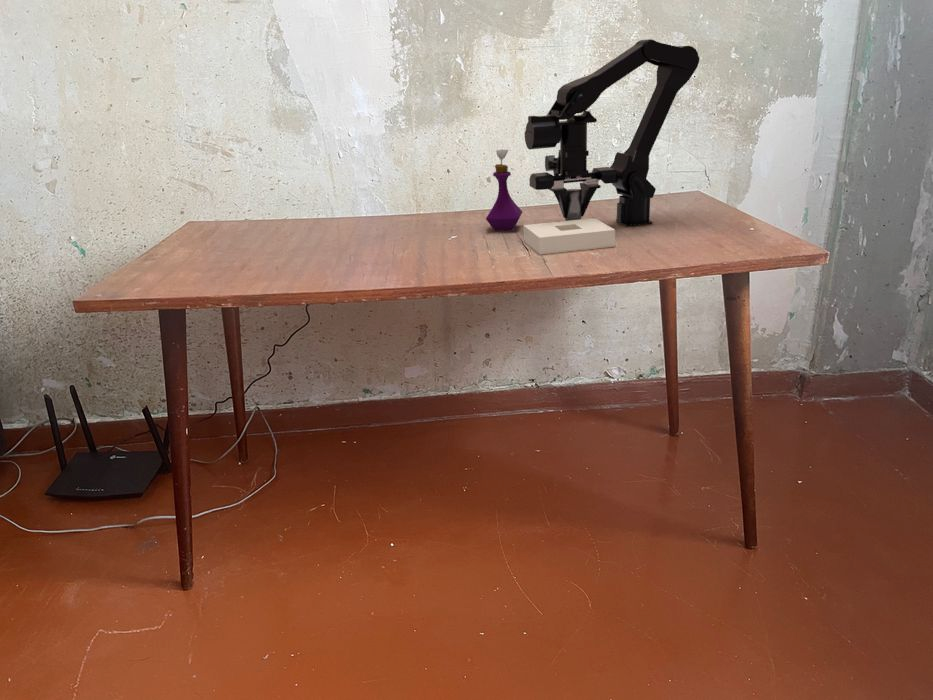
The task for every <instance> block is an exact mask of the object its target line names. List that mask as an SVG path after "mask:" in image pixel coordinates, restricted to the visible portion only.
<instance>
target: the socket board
mask: <svg viewBox="0 0 933 700" xmlns="http://www.w3.org/2000/svg"><path fill="white" fill-rule="evenodd" d="M523 242H524V243H526V245H528V246H529V247H530V248H531V249H532V250H534V251H535V252H536V253H537V254H538V255H540V256H541V255H550V254H558V253H568V252H577V251H585V250H586V251H587V250H594V249H604V248H605V249H606V248H612V247H613V248H614V247H615V245H616V229H614V228H613V227H611V226H609V225H608V224H606V223H603V222H602V221H600V220H599V219H596V218H594V217H592V218H581V219H580V220H570V221H565V220H561V221H551V222H543V223H533V224H523Z"/></svg>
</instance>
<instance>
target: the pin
mask: <svg viewBox="0 0 933 700" xmlns="http://www.w3.org/2000/svg"><path fill="white" fill-rule="evenodd" d="M581 208H582V190H581V188H568V189H567V218H564V221H570V220H580V219H582V217H581Z"/></svg>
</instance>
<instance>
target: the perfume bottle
mask: <svg viewBox="0 0 933 700" xmlns="http://www.w3.org/2000/svg"><path fill="white" fill-rule="evenodd" d="M495 152H496V156H497V157H498V159H499V160H500V164H498V163H497V164H495V165H494V167H495V168H494V169H495V171H494V172H493V173H492V174H493V175H492V177H495V178H496V180H497V182H498V192H497V193H498V194H497V197H496V200H495V202H494V203H493V206H492V207H491V210H489V213H488V214H487V216H486V217H485V219H486V221H487V223H489V225H490V226H491V228H492V229H493V231H495V232H513V230H514V229H515V228H516V226H517V223H518V222H519V219H520V217H521V216H522V214H523V210H522V209H521V208H520V207H519V206H518V205H517V203H516V202H514V199H513V198H512V197H511V195H510V193H509V190H508V179H509V177H510V176H512V174H511V172H510V171H508V170H509V166H508V165H507V164H503V160H504V159H505V158H506V156H507V154H508V152H509V149H497V150H496V151H495Z"/></svg>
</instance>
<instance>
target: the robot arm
mask: <svg viewBox="0 0 933 700" xmlns="http://www.w3.org/2000/svg"><path fill="white" fill-rule="evenodd" d="M700 59H701V58H700V57H699V53H698V50H697V49H696V48H695V47H693V46H691V45H677V46H676V45H671V44H668V43H662V42H659V41H656V40H655V39H651V38H650V39H640V40H638V41H637V42H636V43H635V44H634V45H632V46H631V47H630V48H628V49H626V50H625V51H624V52H622V53H621V54H619V55H618V56H616V57H615V58H613V59H611V60H610V61H609V62H607V63H606V64H604V65H603V66H602V67H600V68H598V69H597V70H595V71H594V72H592V73H590V74H589V75H586V76H583V77H580V78H577V79H573V81H570V82H568V83H565V84H563V85H562V86H560V88H558V90H557V94H556V99H555V101H554V103H553V105H552V106H551V108H550V110H548V112H547V114H546V115H529V116H527V123H526V126H525V131H524V141H525V146H526V148H527V149H528V150H540V149H548V148H549V149H550V148H555V147H557V145H558V144H559V146H560V147H559V148H560V149H558V151H557V152H558V155H557V157H555V155H553V154H552V155H551V154H550V155H545V156H544V167H545V168H544V169H545V171H546V172H545V171H543V172H534V173H531V174H530V176H529V181H528V182H529V187H531V188H532V189H534V190H535V191H542V190H544V191H545V190H548V191H550V192H553V194H554V196H555V199H556V201H557V203H558V205H559V209H560V211H561V214H562V215H561V216H562V217H563V218H564V219H565V218H567V190H568V189H567V188H565V187H564V186H565V184H571V183H579V187H580V188H579V189H581V190H582V208H581V218H583V217H584V216H585V213H586V211H587V210H588V209H587V208H588V206H589V205H590V202H591V200H592V198H593V196H594V195H595V193H596V191H597V190H598V189H601V187H602V186H601V184H599V181H601V182H602V183H603V184H605V185H608V184H612V186H614V188H615V191H616V193H617V195H619V196H618V197H619V199H618V202H617V204H616V219H615V222H617V223H619V224H621V225H623V226H625V227H634V226H643V225H651V224H653V221H652V220H651V219H650V212H651V199H653V198H654V195H655V193H656V190H657V188H656V187H655V186H654V185H653V184H652V183H651V182H650V181H649V180H648V179H647V177H648V174H649V171H650V170H649V169H650V155H651V152H652V150H653V147H654V145H655V144H656V143H655V142H656V141H657V138H658V136H659V134H660V131H661V130H662V127H663V125H664V123H665V121H666V118H667V116H668V113H669V111H670V110H671V107H672V105H673V103H674V100H675V98H676V96H677V94H678V93H679V91H680V90H681V89H682V88H683V87H684V86H685V85H686V84H687V83H688V82H689V81H690V80H691V78H692V76H693V74H694V73H695V71H697V70H696V69H697V68H698V66H699V63H700ZM645 63H649V64H650V65H654V66H657V68H656V86H655V88H654V90H653V91H652V94H651V96H650V99H649V101H648V104H647V107H646V108H645V110H644V113H643V115H642V118H641V119H640V121H639V124H638V127H637V129H636V131H635V133H634V136H633V137H632V139H631V142H630V145H629V147H628V148H627V149H626V150H625V151H624V152H618V151H617V152H616V154H615V156H614V160H613V162H612V163H611V166H610V167H609V166H600V167H593V169H592V170H591V172H589V169H587V166H588V164H587V162H588V160H587V159H588V156H589V153H590V151H589V150H588V124H592V123H597V121H598V120H597V118H596V117H594V116H593V114H592V113H591V111H590V110H588V109H589V108H590V107H592V106H593V104H595V103H596V102H597V101H598V99H599V98H600V96H601V95H602V94H603V93H604V92H605V91H606V90H607V89H608V88H610V87H612V86H613V85H615V84H616V83H617V82H619V81H620V80H622V79H623V78H625V77H626V76H628V75H629V74H631V73H632V72H633V71H635V70H636V69H638V68H640V67H641V66H642V65H644V64H645ZM552 171H553V172H552ZM549 172H552V173H553V174H552V173H549Z"/></svg>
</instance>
